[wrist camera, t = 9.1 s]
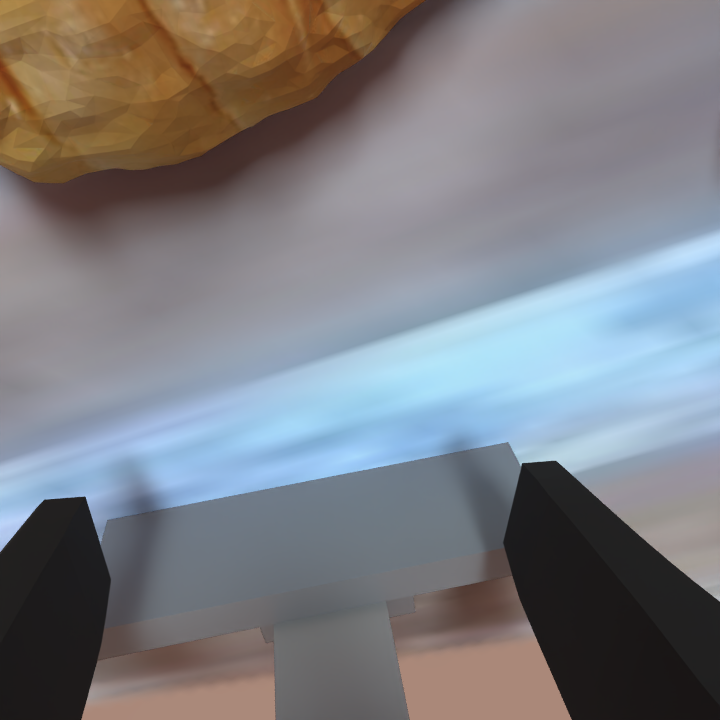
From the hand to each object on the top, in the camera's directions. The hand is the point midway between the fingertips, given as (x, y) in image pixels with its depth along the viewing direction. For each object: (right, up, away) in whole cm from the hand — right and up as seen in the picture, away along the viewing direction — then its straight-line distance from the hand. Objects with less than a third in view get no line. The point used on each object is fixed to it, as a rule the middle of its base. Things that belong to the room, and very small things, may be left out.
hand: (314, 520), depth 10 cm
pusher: (0, -2, +6) cm, 6 cm away
